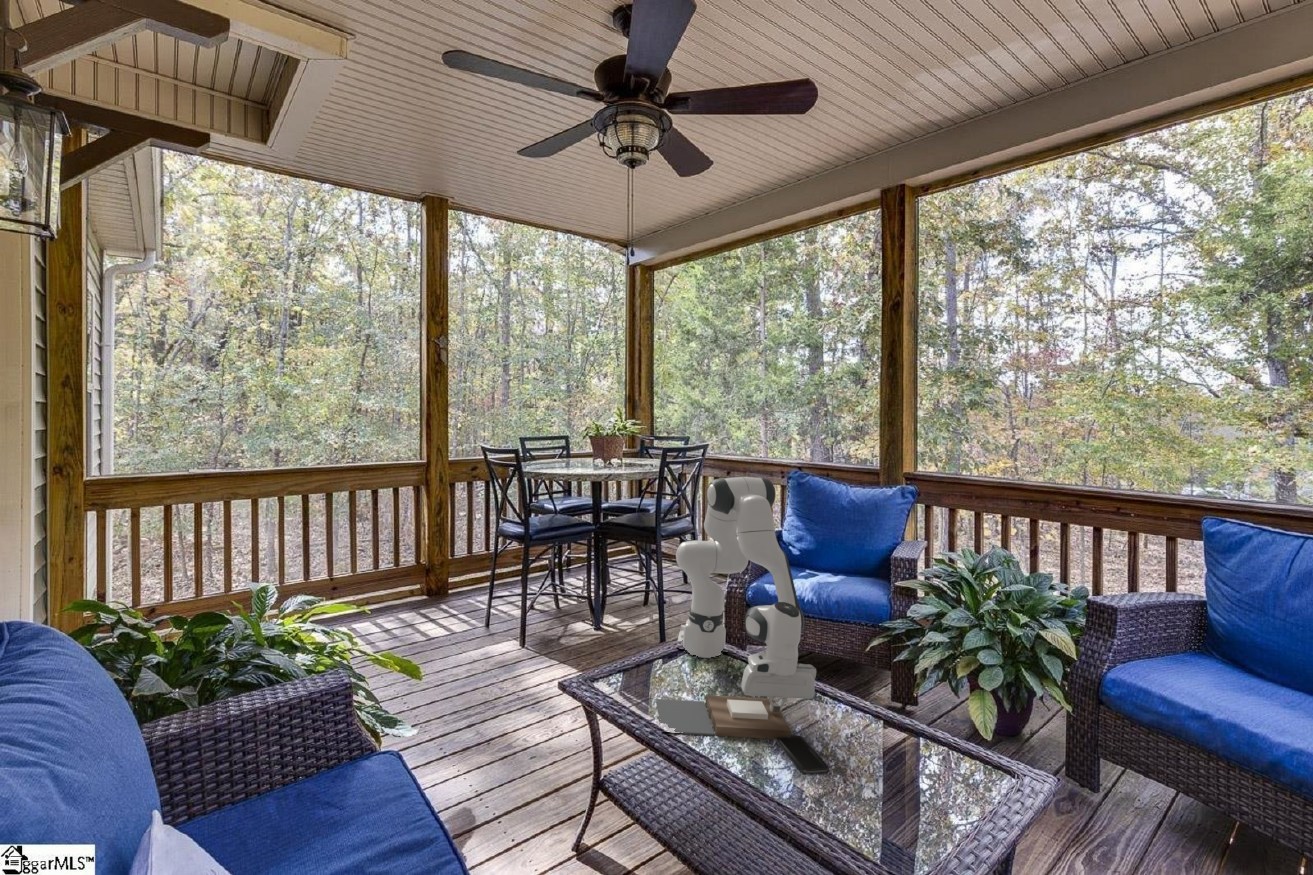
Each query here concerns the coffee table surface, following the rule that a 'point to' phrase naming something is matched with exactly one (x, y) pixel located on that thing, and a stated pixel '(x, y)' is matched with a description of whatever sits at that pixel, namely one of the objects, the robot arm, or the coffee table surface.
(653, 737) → the coffee table surface
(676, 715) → the mat
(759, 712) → the tile
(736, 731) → the wooden board
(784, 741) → the phone
